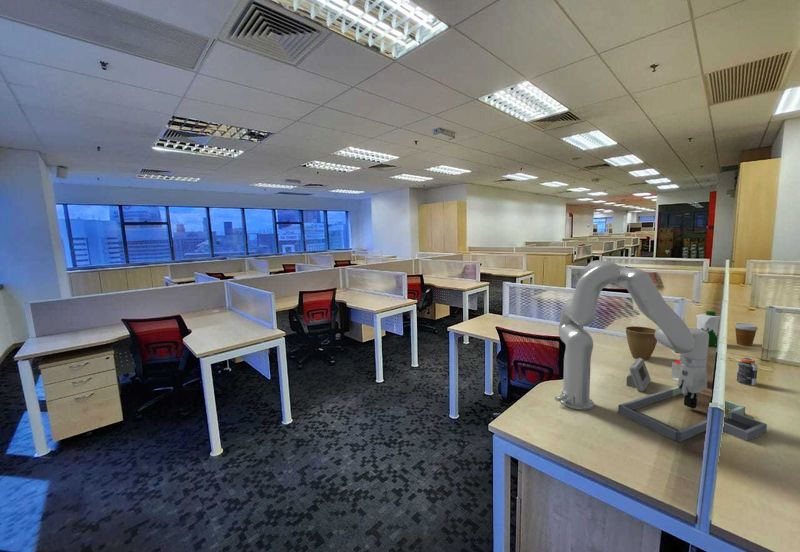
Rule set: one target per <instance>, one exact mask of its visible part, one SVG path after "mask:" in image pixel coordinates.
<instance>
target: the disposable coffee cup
mask: <svg viewBox="0 0 800 552" xmlns="http://www.w3.org/2000/svg"><path fill="white" fill-rule="evenodd" d="M734 324H735V325H734V330H735V339H736V341H735V342H736V344H737V345H739V346H744V347H753V344H754V340H755V337H756V333H757V331H758V329H759V328H758V325H756V324H752V323H751V324H750V323H745V322H744V323H743V322H740V323H739V322H738V323H737V322H736V323H734Z"/></svg>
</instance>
